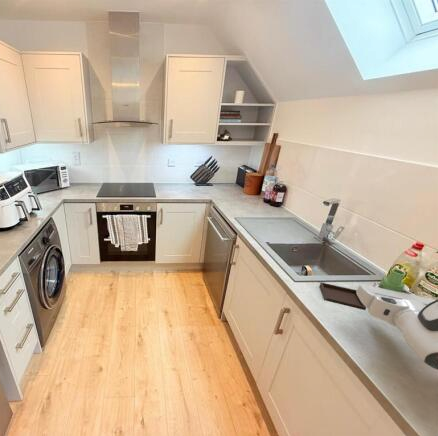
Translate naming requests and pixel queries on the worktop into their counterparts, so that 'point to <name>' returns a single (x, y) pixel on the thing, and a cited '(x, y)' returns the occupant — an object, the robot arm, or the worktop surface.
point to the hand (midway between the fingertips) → (388, 286)
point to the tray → (341, 295)
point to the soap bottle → (393, 281)
